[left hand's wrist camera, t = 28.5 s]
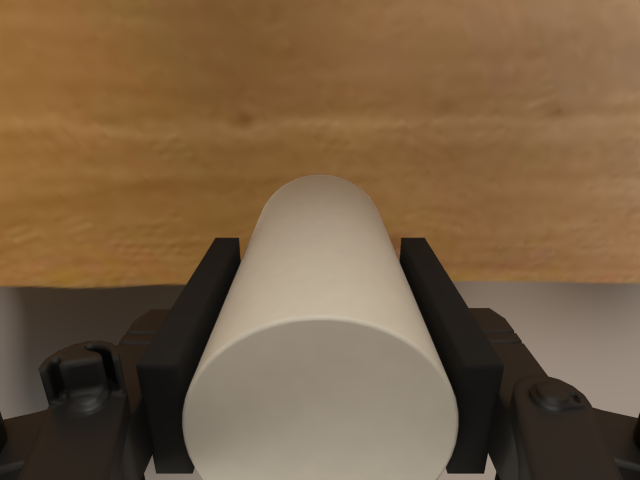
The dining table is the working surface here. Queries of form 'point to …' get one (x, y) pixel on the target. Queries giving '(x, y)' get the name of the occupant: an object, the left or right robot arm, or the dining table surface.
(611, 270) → the dining table surface
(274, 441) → the canister
